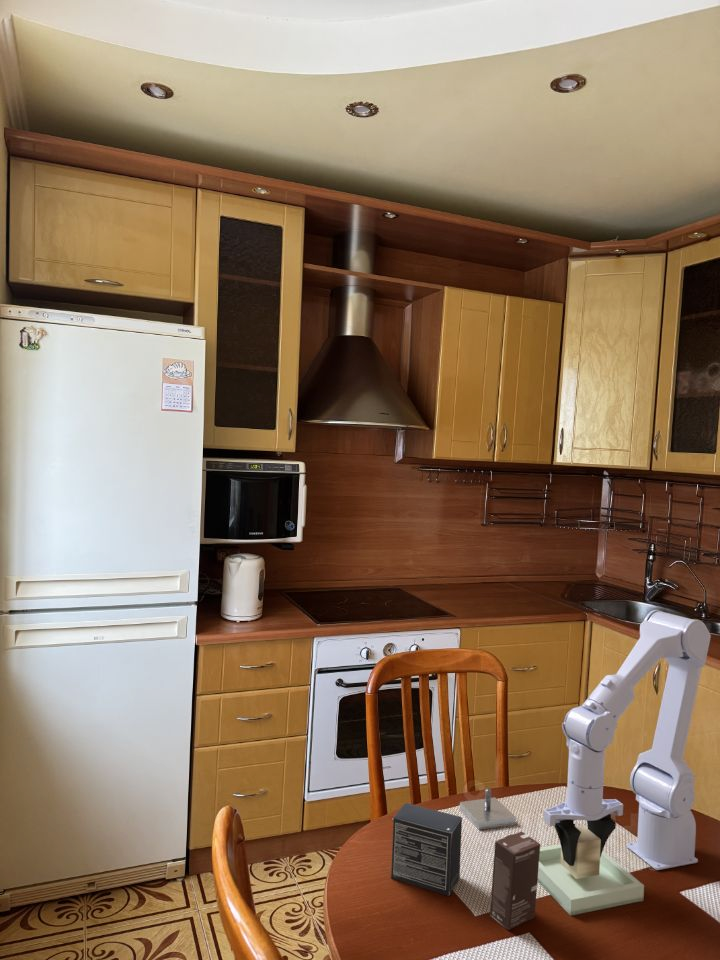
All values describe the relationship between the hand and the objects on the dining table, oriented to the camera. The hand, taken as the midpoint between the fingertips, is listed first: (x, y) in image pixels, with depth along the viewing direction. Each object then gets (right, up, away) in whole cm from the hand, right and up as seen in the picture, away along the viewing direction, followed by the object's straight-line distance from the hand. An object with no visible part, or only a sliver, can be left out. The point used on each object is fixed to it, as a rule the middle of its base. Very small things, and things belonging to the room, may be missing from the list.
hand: (581, 860), depth 116 cm
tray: (0, -4, 0) cm, 4 cm away
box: (-14, -4, -10) cm, 17 cm away
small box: (-26, -3, 0) cm, 27 cm away
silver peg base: (-12, -3, +20) cm, 24 cm away
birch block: (0, -2, 0) cm, 2 cm away
